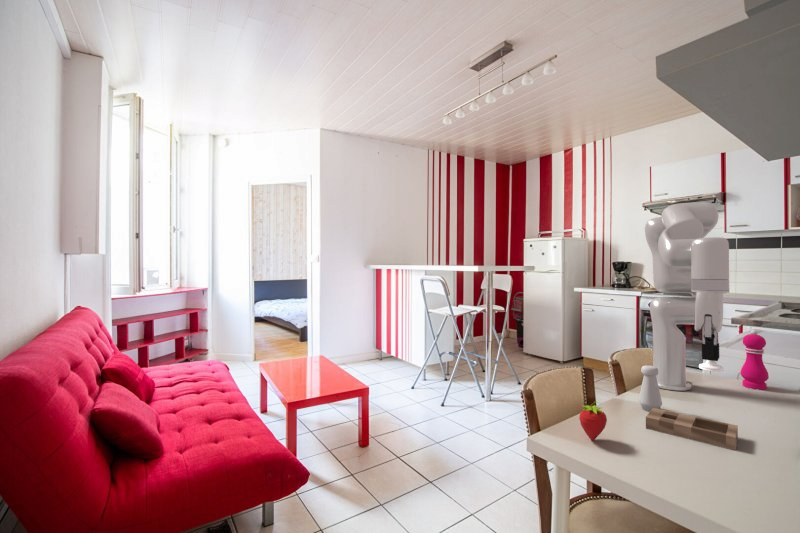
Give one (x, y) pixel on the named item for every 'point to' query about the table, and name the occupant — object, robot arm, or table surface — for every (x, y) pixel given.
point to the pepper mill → (754, 362)
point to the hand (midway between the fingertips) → (710, 358)
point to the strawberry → (592, 421)
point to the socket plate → (693, 428)
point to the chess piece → (710, 366)
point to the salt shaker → (650, 389)
